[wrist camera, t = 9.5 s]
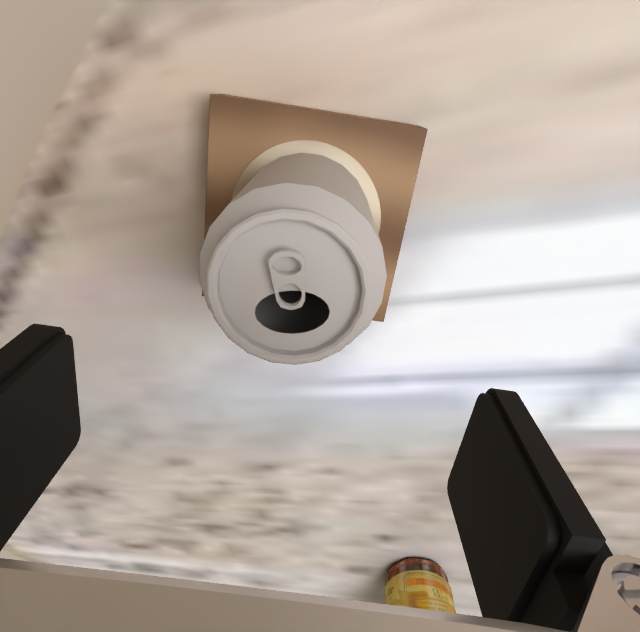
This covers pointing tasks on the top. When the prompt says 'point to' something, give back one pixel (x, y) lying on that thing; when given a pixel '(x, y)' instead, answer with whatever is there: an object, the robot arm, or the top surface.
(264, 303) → the can
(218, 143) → the base
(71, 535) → the top surface
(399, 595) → the sauce bottle
